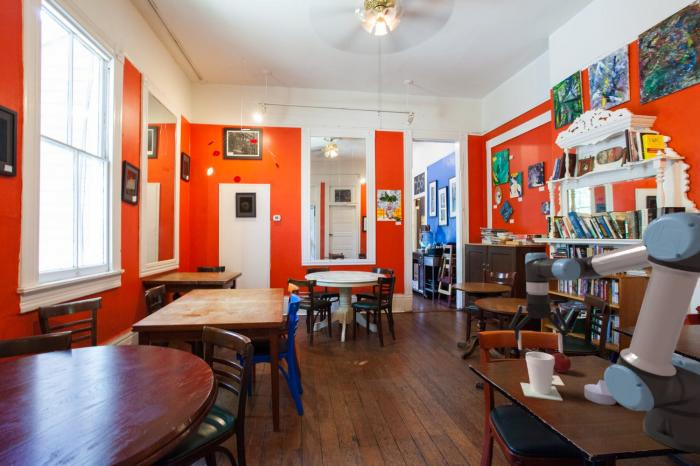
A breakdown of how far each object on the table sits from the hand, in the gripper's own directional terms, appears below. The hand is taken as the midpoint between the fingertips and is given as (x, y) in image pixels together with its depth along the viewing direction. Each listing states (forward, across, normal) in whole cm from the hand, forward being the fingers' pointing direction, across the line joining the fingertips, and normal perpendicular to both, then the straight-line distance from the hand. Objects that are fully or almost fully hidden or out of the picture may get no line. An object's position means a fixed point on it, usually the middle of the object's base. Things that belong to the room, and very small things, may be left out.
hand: (540, 350), depth 128 cm
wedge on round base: (+16, -21, -1) cm, 26 cm away
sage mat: (+16, 0, 0) cm, 16 cm away
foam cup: (+15, 0, 0) cm, 15 cm away
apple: (+15, -12, -26) cm, 32 cm away
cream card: (+15, -5, -14) cm, 22 cm away
